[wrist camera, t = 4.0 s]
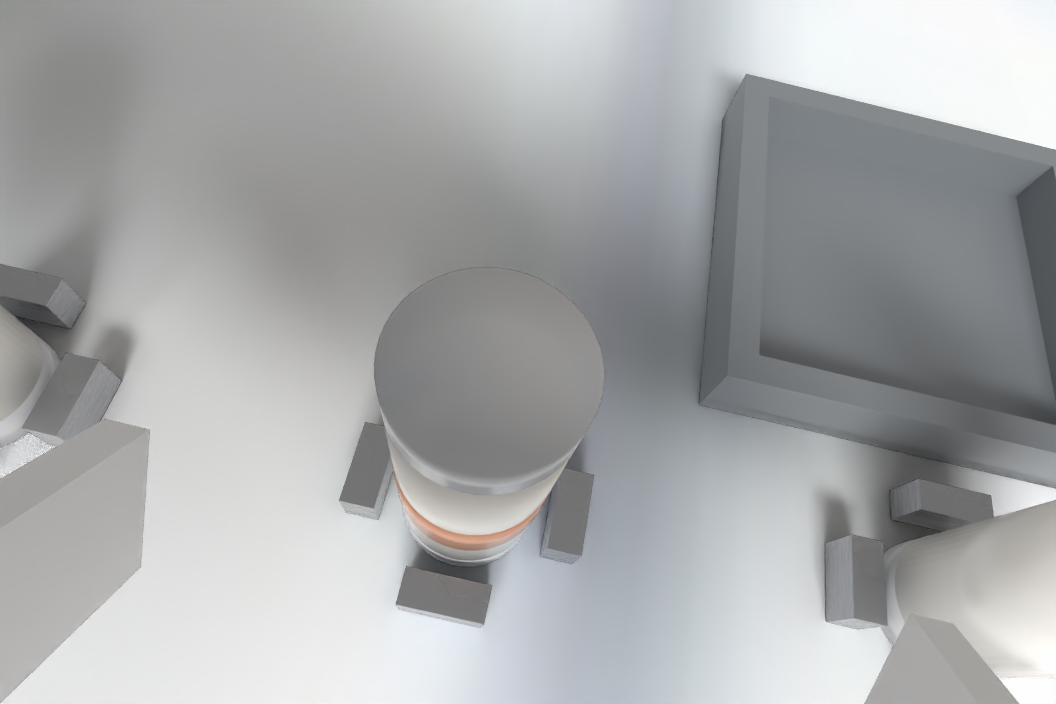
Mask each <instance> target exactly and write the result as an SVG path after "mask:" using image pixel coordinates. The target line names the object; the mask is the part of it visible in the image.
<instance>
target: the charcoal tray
mask: <svg viewBox="0 0 1056 704" xmlns="http://www.w3.org/2000/svg"><path fill="white" fill-rule="evenodd" d="M699 405H702V406H706V407H711V408H715V409H719V410H723V411H728V412H732V413H736V414H740V415H745V416H749V417H753V418H758V419H762V420H766V421H770V422H775V423H779V424H783V425H787V426H792V427H796V428H800V429H804V430H809V431H813V432H817V433H822V434H826V435H830V436H834V437H839V438H843V439H847V440H851V441H856V442H860V443H864V444H868V445H873V446H877V447H881V448H886V449H890V450H894V451H898V452H903V453H907V454H911V455H915V456H920V457H924V458H928V459H932V460H937V461H941V462H945V463H949V464H954V465H958V466H962V467H967V468H971V469H975V470H979V471H984V472H988V473H992V474H996V475H1001V476H1005V477H1009V478H1013V479H1018V480H1022V481H1026V482H1031V483H1035V484H1039V485H1043V486H1048V487H1052V488H1056V150H1054V149H1050V148H1046V147H1042V146H1038V145H1034V144H1030V143H1026V142H1022V141H1018V140H1013V139H1009V138H1005V137H1001V136H997V135H993V134H989V133H985V132H981V131H977V130H973V129H969V128H965V127H961V126H957V125H952V124H948V123H944V122H940V121H936V120H932V119H928V118H924V117H920V116H916V115H912V114H908V113H904V112H900V111H896V110H891V109H887V108H883V107H879V106H875V105H871V104H867V103H863V102H859V101H855V100H851V99H847V98H843V97H839V96H834V95H830V94H826V93H822V92H818V91H814V90H810V89H806V88H802V87H798V86H794V85H790V84H786V83H782V82H778V81H773V80H769V79H765V78H761V77H757V76H753V75H749V74H746V75H745V77H744V79H743V81H742V83H741V85H740V87H739V89H738V91H737V93H736V95H735V97H734V99H733V101H732V102H731V104H730V106H729V108H728V110H727V112H726V114H725V116H724V118H723V121H722V133H721V145H720V157H719V169H718V181H717V193H716V206H715V218H714V230H713V242H712V254H711V266H710V278H709V290H708V302H707V314H706V326H705V338H704V350H703V362H702V374H701V387H700V399H699Z"/></svg>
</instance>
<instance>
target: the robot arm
mask: <svg viewBox="0 0 1056 704" xmlns="http://www.w3.org/2000/svg"><path fill="white" fill-rule="evenodd" d="M149 435H150V430H149V429H145V428H141V427H136V426H132V425H128V424H124V423H120V422H116V421H112V420H107V419H104V420H102V421H100V422H98V423H97V424H95V425H93V426H91V427H90V428H88V429H86V430H84V431H83V432H81V433H79V434H77V435H76V436H74V437H72V438H71V439H69V440H67V441H65V442H64V443H62V444H60V445H58V446H57V447H55V448H53V449H51V450H50V451H48V452H46V453H44V454H43V455H41V456H39V457H37V458H36V459H34V460H32V461H30V462H29V463H27V464H25V465H23V466H22V467H20V468H18V469H17V470H15V471H13V472H11V473H10V474H8V475H6V476H4V477H3V478H1V479H0V703H1V702H2V701H3V700H4V699H5V698H6V697H7V696H8V695H9V694H10V693H11V692H12V691H13V690H15V689H16V688H17V687H18V686H19V685H20V684H21V683H22V682H23V681H24V680H25V679H26V678H27V677H28V676H29V675H30V674H31V673H32V672H33V671H34V670H35V669H36V668H37V667H38V666H39V665H40V664H41V663H42V662H43V661H44V660H45V659H46V658H48V657H49V656H50V655H51V654H52V653H53V652H54V651H55V650H56V649H57V648H58V647H59V646H60V645H61V644H62V643H63V642H64V641H65V640H66V639H67V638H68V637H69V636H70V635H71V634H72V633H73V632H74V631H75V630H76V629H77V628H78V627H79V626H81V625H82V624H83V623H84V622H85V621H86V620H87V619H88V618H89V617H90V616H91V615H92V614H93V613H94V612H95V611H96V610H97V609H98V608H99V607H100V606H101V605H102V604H103V603H104V602H105V601H106V600H107V599H108V598H109V597H110V596H111V595H113V594H114V593H115V592H116V591H117V590H118V589H119V588H120V587H121V586H122V585H123V584H124V583H125V582H126V581H127V580H128V579H129V578H130V577H131V576H132V575H133V574H134V573H135V572H136V571H137V570H138V569H139V568H140V567H141V558H142V543H143V527H144V512H145V497H146V481H147V466H148V450H149ZM865 704H1019V703H1018V702H1017V700H1016V699H1015V698H1014V697H1013V696H1012V694H1011V693H1010V692H1009V691H1008V689H1007V688H1006V687H1005V686H1004V685H1003V683H1002V682H1001V681H1000V680H999V678H998V677H997V676H996V675H995V674H994V672H993V671H992V670H991V669H990V667H989V666H988V665H987V664H986V663H985V661H984V660H983V659H982V658H981V656H980V655H979V654H978V653H977V652H976V650H975V649H974V648H973V647H972V646H971V644H970V643H969V642H968V641H967V639H966V638H965V637H964V636H963V635H962V633H961V632H960V631H959V630H958V628H957V627H956V626H955V625H954V624H953V623H949V622H945V621H941V620H937V619H932V618H928V617H924V616H920V615H916V614H912V613H910V614H909V616H908V618H907V620H906V622H905V624H904V626H903V628H902V630H901V632H900V634H899V636H898V638H897V640H896V642H895V644H894V646H893V648H892V650H891V652H890V654H889V656H888V658H887V660H886V662H885V664H884V666H883V668H882V670H881V672H880V674H879V676H878V678H877V680H876V682H875V684H874V686H873V688H872V690H871V692H870V694H869V696H868V698H867V700H866V702H865Z"/></svg>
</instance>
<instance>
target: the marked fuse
mask: <svg viewBox="0 0 1056 704" xmlns="http://www.w3.org/2000/svg"><path fill="white" fill-rule="evenodd" d="M604 378H605V375H604V362H603V357H602V351H601V348H600V345H599V342H598V339H597V337H596V335H595V333H594V331H593V329H592V327H591V325H590V323H589V322H588V320H587V319H586V317H585V316H584V314H583V313H582V312H581V311H580V310H579V308H578V307H577V306H576V305H575V304H574V303H573V302H572V301H571V300H570V299H569V298H568V297H566V296H565V295H564V294H563V293H561V292H560V291H559V290H557V289H556V288H554V287H553V286H551V285H549V284H548V283H546V282H544V281H542V280H540V279H538V278H535V277H533V276H531V275H528V274H525V273H521V272H518V271H514V270H509V269H503V268H492V267H480V268H469V269H462V270H458V271H454V272H450V273H447V274H444V275H442V276H439V277H437V278H434V279H432V280H430V281H429V282H427V283H425V284H423V285H421V286H420V287H419V288H417V289H416V290H414V291H413V292H412V293H410V294H409V295H408V296H407V297H406V298H405V299H404V300H403V301H402V302H401V303H400V304H399V305H398V306H397V308H396V309H395V310H394V311H393V313H392V314H391V316H390V317H389V319H388V320H387V322H386V324H385V325H384V328H383V330H382V332H381V335H380V337H379V340H378V344H377V348H376V352H375V361H374V379H375V385H376V390H377V395H378V400H379V404H380V409H381V413H382V418H383V422H384V427H385V431H386V436H387V440H388V445H389V449H390V454H391V458H392V465H393V470H394V476H395V480H396V484H397V489H398V493H399V497H400V500H401V503H402V507H403V512H404V516H405V520H406V523H407V526H408V529H409V531H410V533H411V535H412V536H413V538H414V539H415V541H416V542H417V543H418V545H419V546H420V547H421V548H422V549H423V550H424V551H425V552H427V553H428V554H429V555H431V556H432V557H434V558H435V559H437V560H439V561H441V562H444V563H447V564H450V565H454V566H460V567H473V566H480V565H484V564H488V563H490V562H493V561H495V560H497V559H499V558H501V557H502V556H504V555H505V554H506V553H508V552H509V551H510V550H511V549H512V548H513V547H514V546H515V545H516V544H517V543H518V542H519V540H520V539H521V538H522V536H523V534H524V533H525V531H526V530H527V528H528V526H529V525H530V523H531V522H532V520H533V519H534V518H535V516H536V515H537V513H538V512H539V510H540V508H541V507H542V505H543V503H544V502H545V500H546V499H547V497H548V495H549V493H550V492H551V490H552V487H553V486H554V484H555V482H556V481H557V479H558V477H559V476H560V474H561V472H562V471H563V469H564V468H565V466H566V464H567V463H568V461H569V459H570V458H571V456H572V455H573V453H574V451H575V450H576V448H577V446H578V445H579V443H580V441H581V440H582V438H583V437H584V435H585V433H586V432H587V430H588V428H589V427H590V425H591V423H592V421H593V420H594V418H595V416H596V413H597V411H598V408H599V406H600V403H601V399H602V394H603V389H604Z"/></svg>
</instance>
